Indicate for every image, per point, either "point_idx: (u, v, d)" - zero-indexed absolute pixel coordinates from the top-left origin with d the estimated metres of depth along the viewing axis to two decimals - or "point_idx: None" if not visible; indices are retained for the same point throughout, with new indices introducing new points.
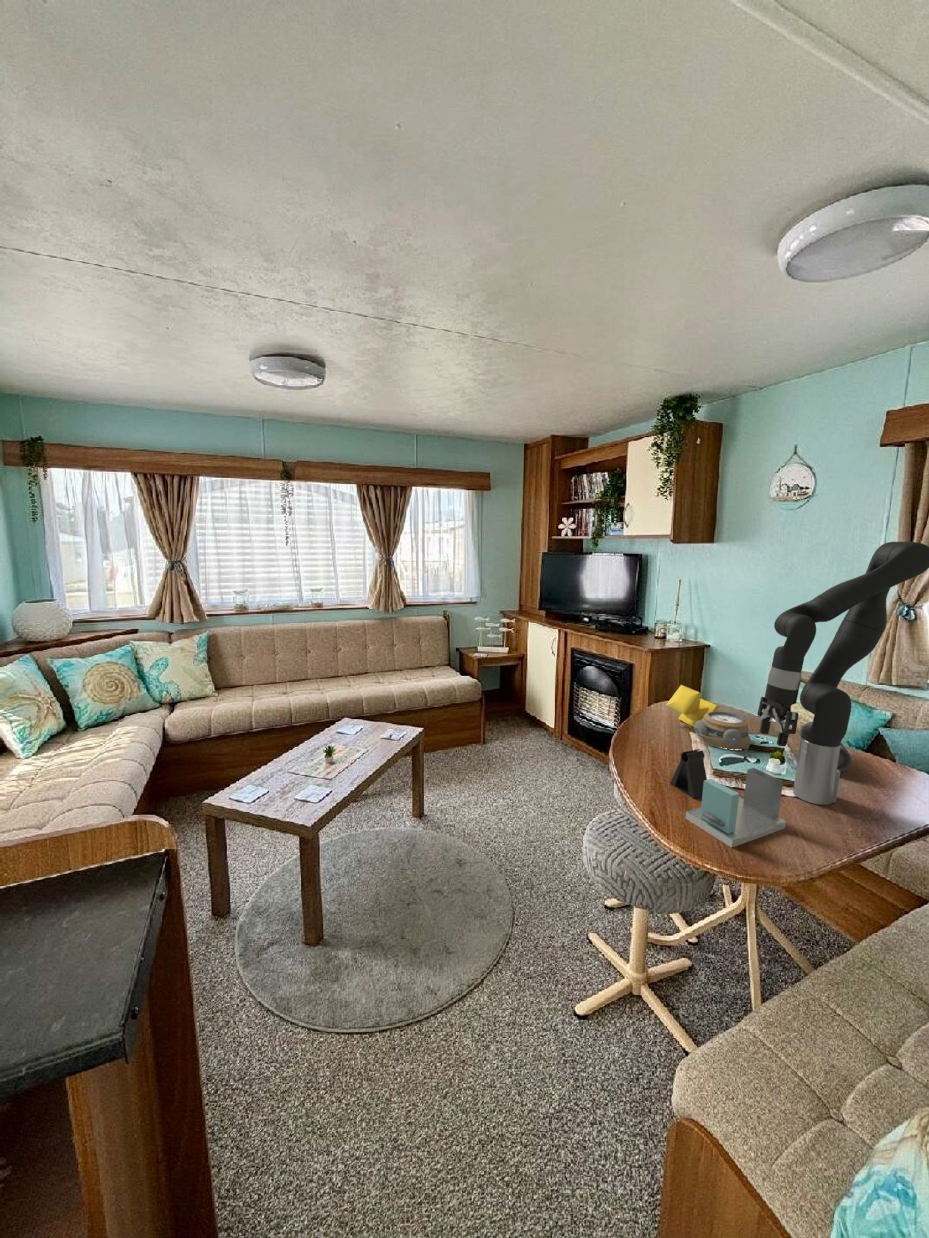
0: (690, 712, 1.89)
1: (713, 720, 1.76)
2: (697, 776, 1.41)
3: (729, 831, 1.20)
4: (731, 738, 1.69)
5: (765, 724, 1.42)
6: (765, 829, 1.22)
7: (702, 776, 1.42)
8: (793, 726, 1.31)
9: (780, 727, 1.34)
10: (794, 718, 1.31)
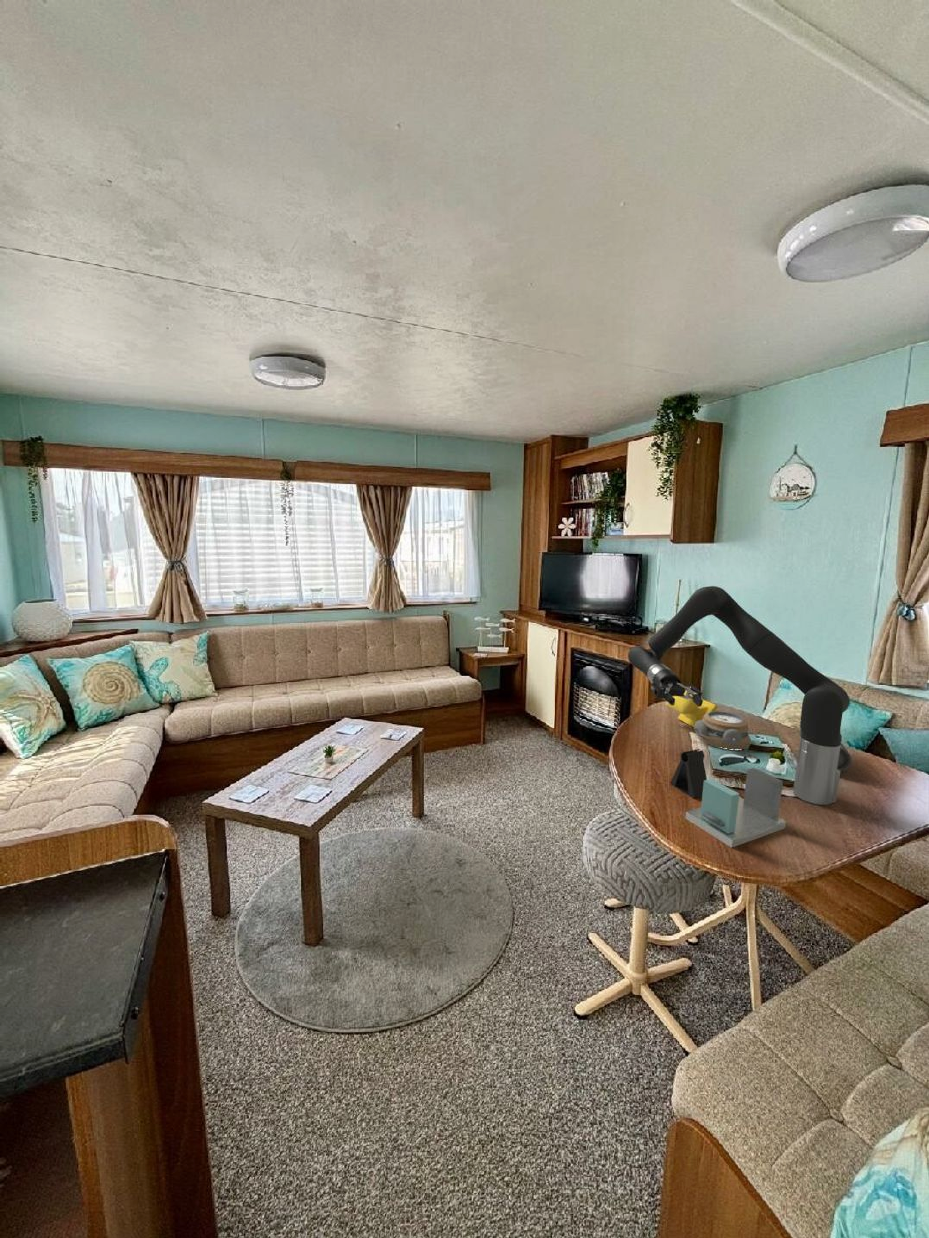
0: (689, 712, 1.89)
1: (713, 720, 1.76)
2: (697, 776, 1.41)
3: (729, 831, 1.20)
4: (731, 738, 1.69)
5: (694, 699, 1.50)
6: (765, 829, 1.22)
7: (702, 776, 1.42)
8: None
9: None
10: (652, 687, 1.55)
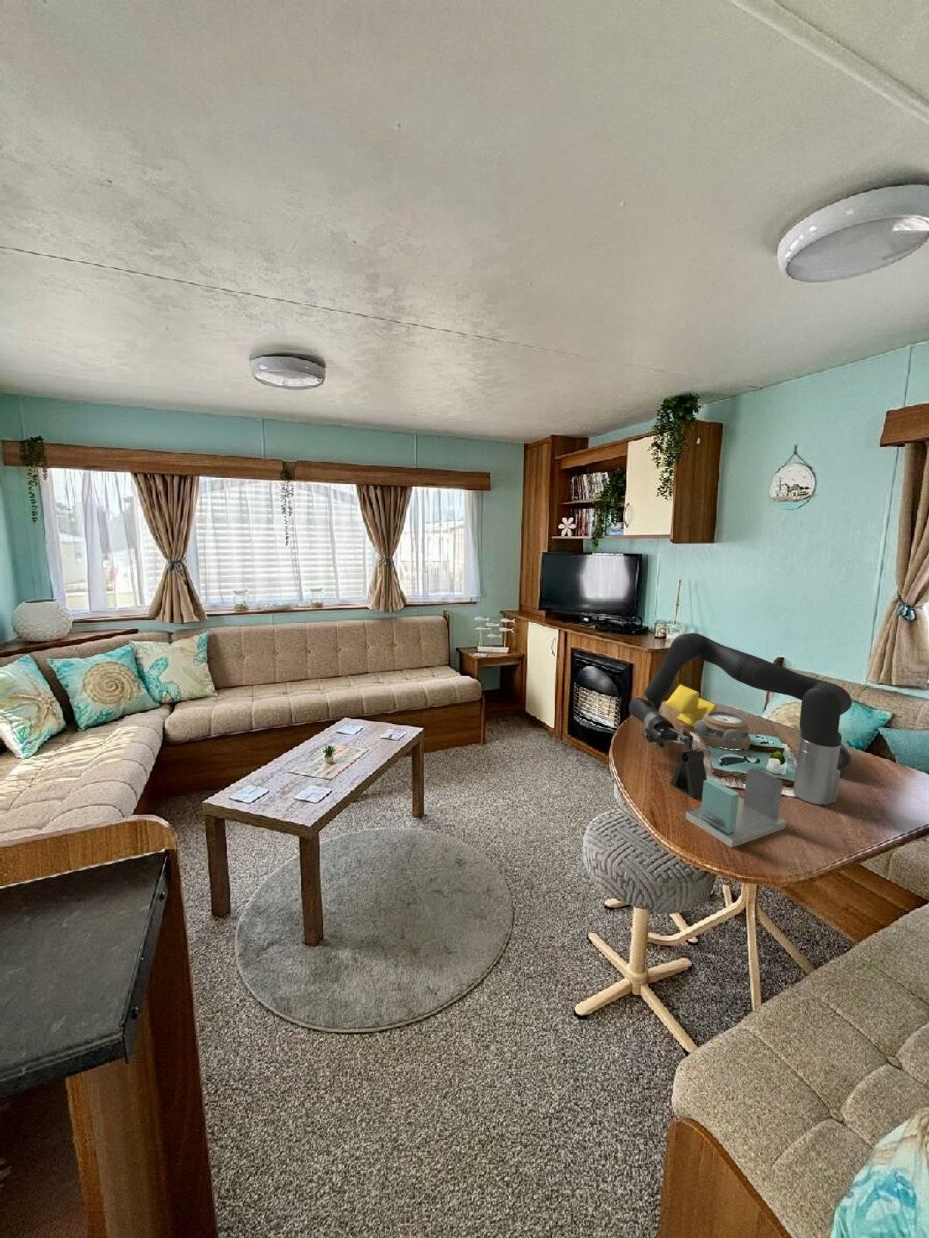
0: (688, 711, 1.89)
1: (713, 720, 1.76)
2: (697, 776, 1.41)
3: (729, 831, 1.20)
4: (731, 738, 1.69)
5: (685, 742, 1.57)
6: (765, 829, 1.22)
7: (702, 776, 1.42)
8: None
9: None
10: (645, 732, 1.63)
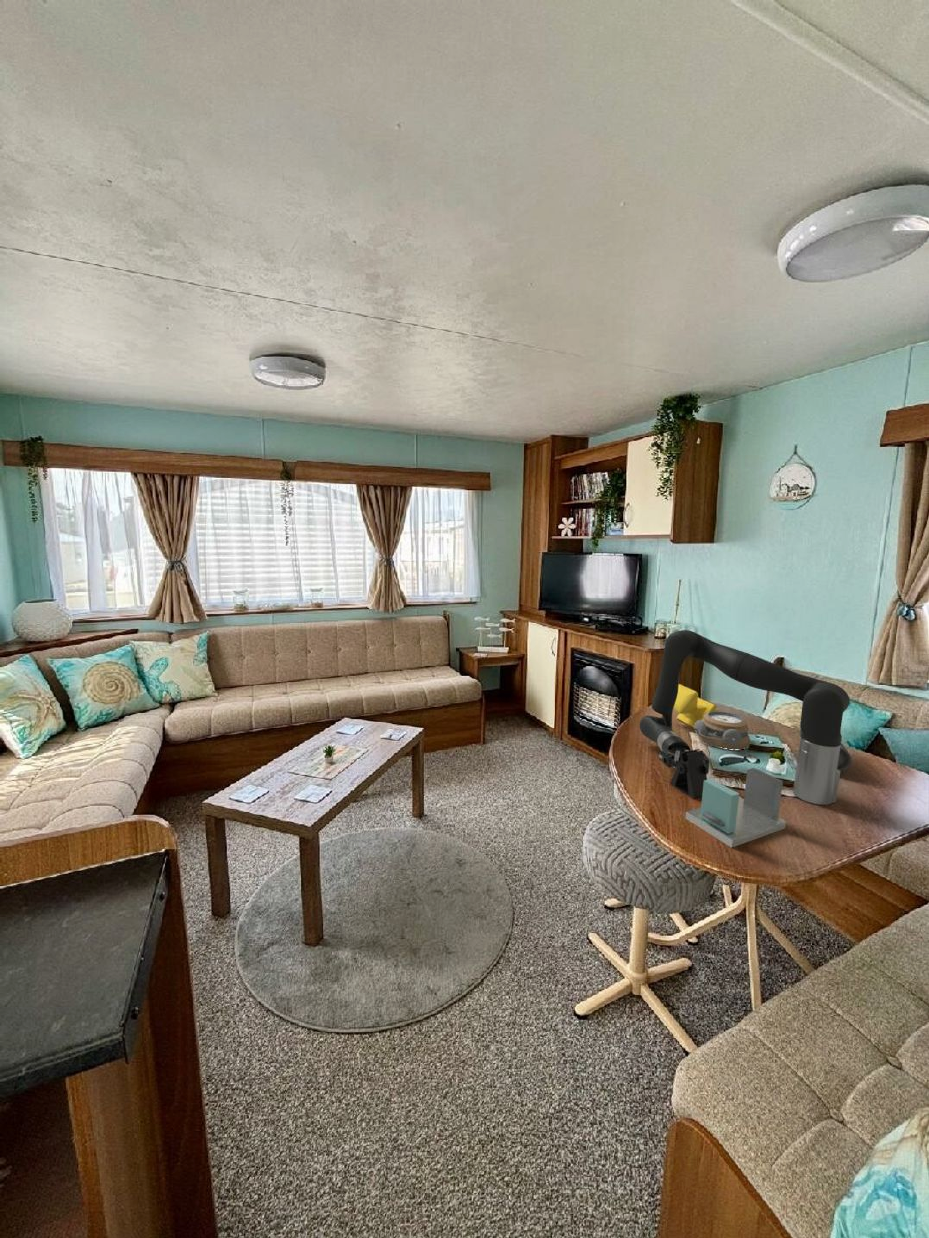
0: (687, 711, 1.90)
1: (713, 720, 1.76)
2: (697, 776, 1.41)
3: (729, 831, 1.20)
4: (731, 738, 1.69)
5: None
6: (765, 829, 1.22)
7: (702, 776, 1.42)
8: None
9: None
10: (660, 755, 1.50)
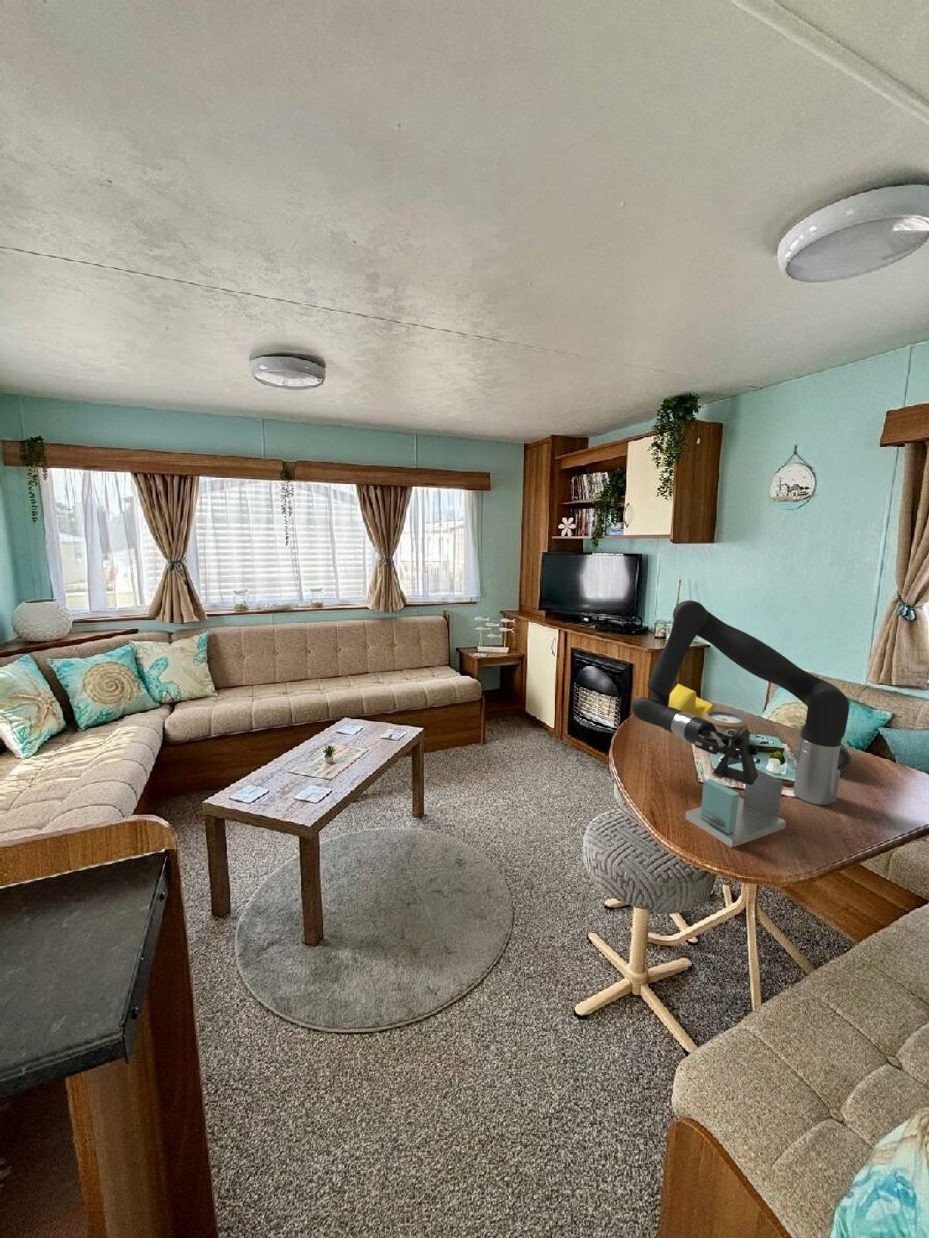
0: (685, 711, 1.90)
1: (713, 720, 1.76)
2: (749, 759, 1.24)
3: (729, 831, 1.20)
4: None
5: None
6: (765, 829, 1.22)
7: (751, 758, 1.25)
8: None
9: None
10: (699, 743, 1.29)
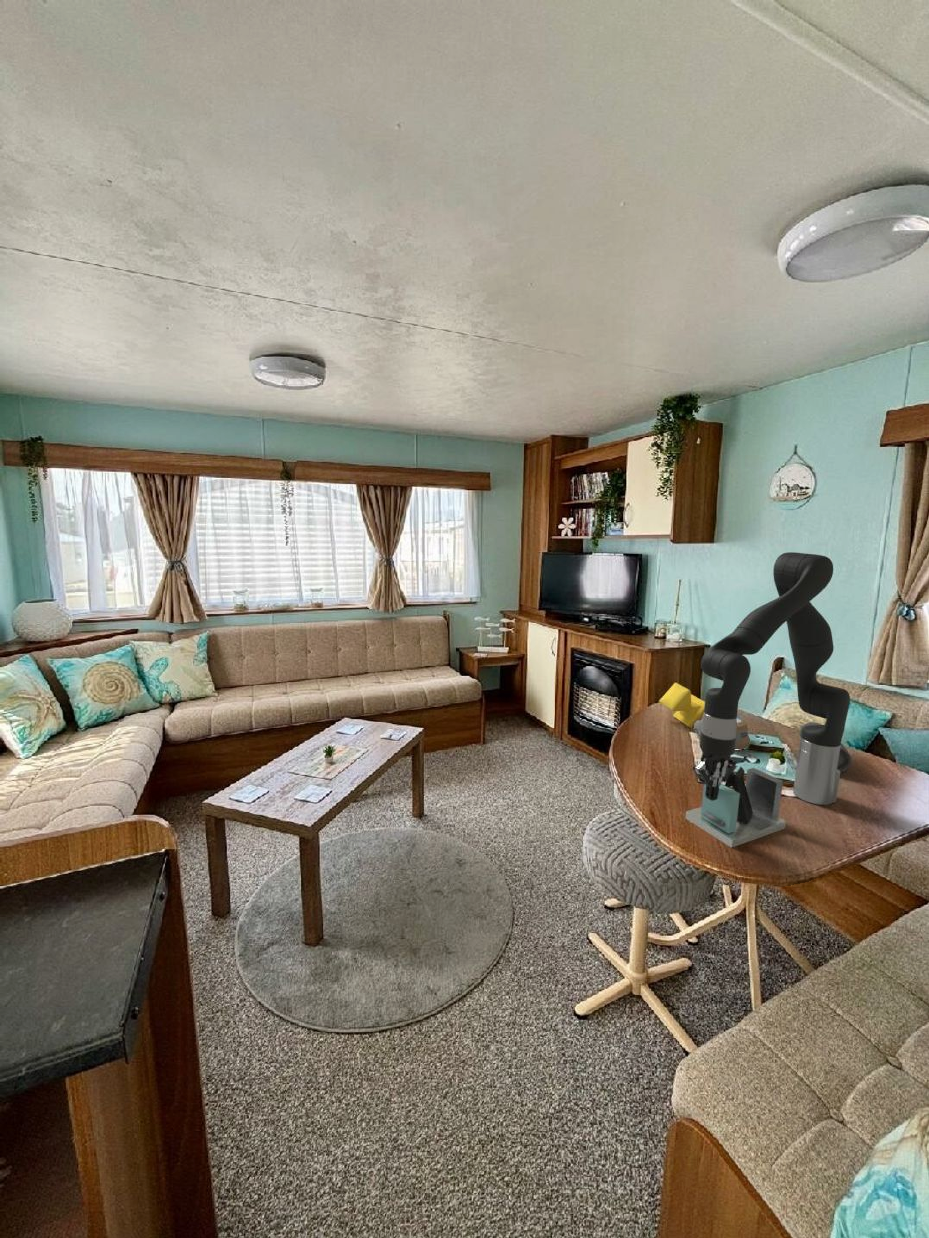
0: (680, 709, 1.92)
1: None
2: (744, 797, 1.26)
3: (730, 831, 1.20)
4: None
5: None
6: (765, 829, 1.22)
7: (746, 795, 1.28)
8: None
9: None
10: (699, 774, 1.17)
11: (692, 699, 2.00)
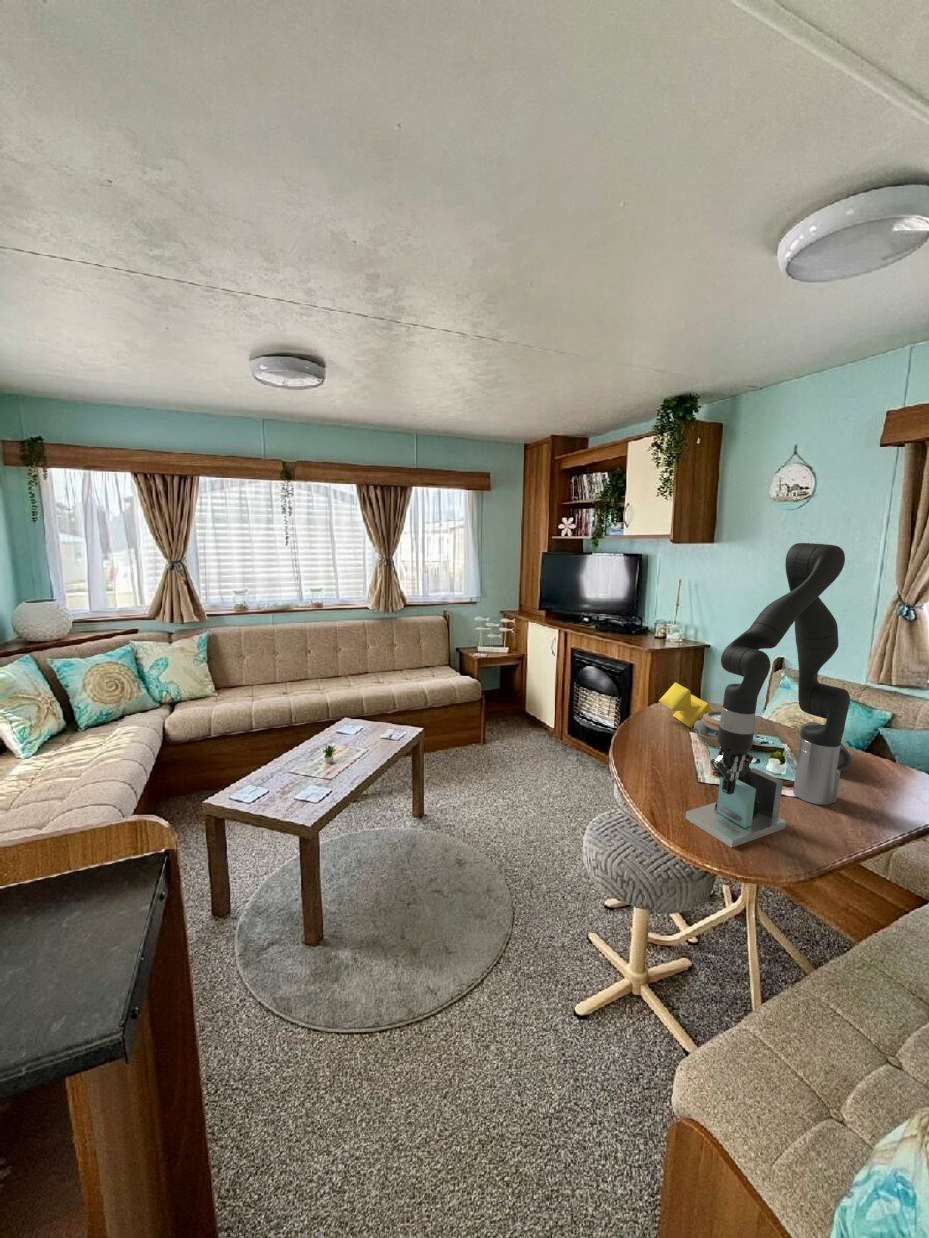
0: (679, 709, 1.92)
1: (712, 720, 1.76)
2: None
3: (746, 825, 1.22)
4: None
5: None
6: (765, 829, 1.22)
7: None
8: None
9: None
10: (717, 767, 1.20)
11: (692, 699, 2.00)
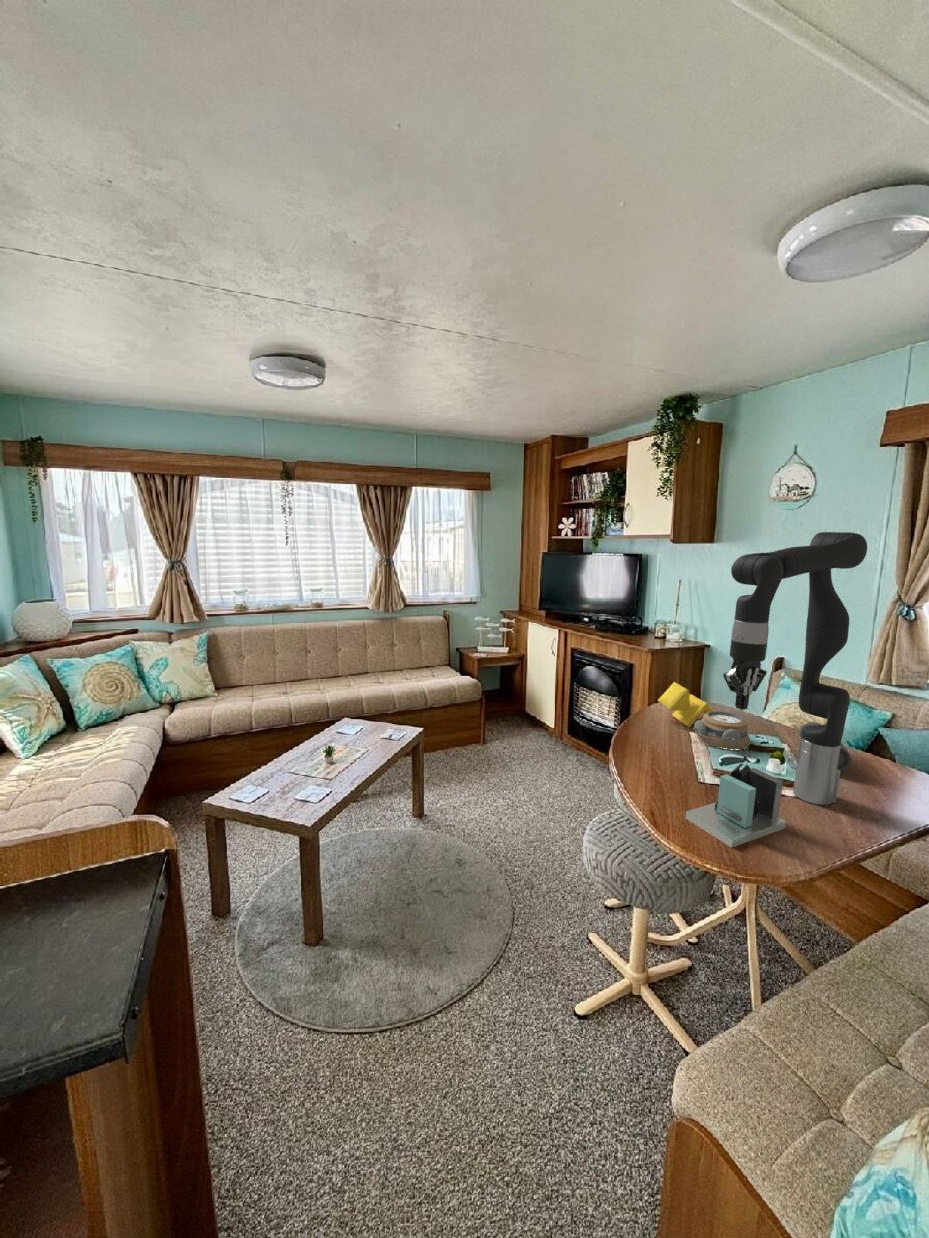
0: (678, 708, 1.93)
1: (712, 720, 1.76)
2: None
3: (746, 825, 1.22)
4: (730, 738, 1.69)
5: None
6: (765, 829, 1.22)
7: None
8: None
9: None
10: (730, 681, 1.16)
11: (691, 699, 2.00)
